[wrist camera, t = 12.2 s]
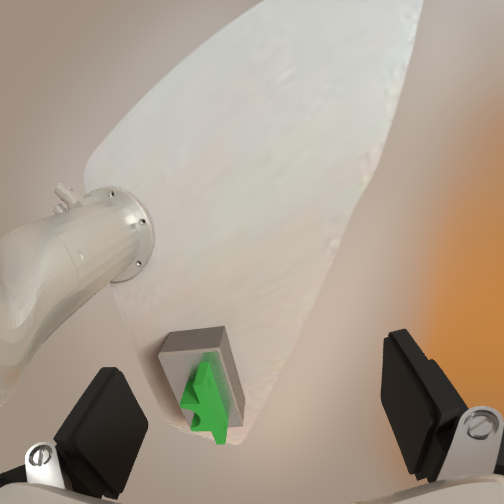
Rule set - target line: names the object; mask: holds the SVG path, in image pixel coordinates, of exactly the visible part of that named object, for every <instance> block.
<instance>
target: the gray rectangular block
mask: <svg viewBox="0 0 504 504" xmlns="http://www.w3.org/2000/svg"><path fill="white" fill-rule="evenodd" d="M158 358H159V360H160V363H161V365H162V367H163V370H164V372H165V375H166V377H167V379H168V382H169V384H170V386H171V388H172V391H173V393H174V395H175V397H176V400H177V402H178V404H179V406H180V401H181V398H182V395H183V392H184V389H185V386H186V383H187V382H188V381H195V377H196V374H197V371H198V368H199V364H200V363H202V362H209V365H210V368H211V371H212V374H213V377H214V380H215V383H216V386H217V389H218V392H219V395H220V398H221V401H222V404H223V407H224V410H225V413H226V416H227V419H228V427H240V426H243V417H244V406H245V397H244V394H243V390H242V387H241V384H240V380H239V377H238V373H237V370H236V366H235V362H234V359H233V355H232V352H231V348H230V344H229V341H228V337H227V333H226V330H225V326H221V327H213V328H204V329H196V330H186V331H177V332H170V334H169V335H168V337H167V339H166V341H165V343H164V345H163V347H162V349H161V351H160V353H159V355H158ZM180 408H181V407H180ZM181 410H182V412H183V415H184V417H185V419H186V421H187V423H188V425H189V427H191V423H192V419H193V416H194V412H193V411H191V410H188V409H182V408H181Z"/></svg>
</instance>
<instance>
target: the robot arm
mask: <svg viewBox="0 0 504 504" xmlns="http://www.w3.org/2000/svg"><path fill="white" fill-rule="evenodd" d="M54 192H55V194H56V195H57V196H58V197H59V198H60V199H61V200H62V201H64V202H65V203H66V204H67V205H68V211H66V209H65V208H64V207H63V206H62V205H61V204H58V205H57V206H56V207H55V209H54V212H55V213H56V215H53V216H50V217H47V218H44V219H41V220H38V221H35V222H33V223H30V224H27V225H24V226H21V227H19V228H16V229H14V230H13V231H11V232H9V233H8V234H7V235H5V236H4V237H3V238H2V239H1V240H0V407H1V406H2V405H3V404H4V403H5V402H6V400H7V399H8V398H9V397H10V395H11V394H12V393H13V391H14V390H15V388H16V387H17V385H18V383H19V382H20V380H21V378H22V376H23V375H24V373H25V371H26V369H27V367H28V365H29V364H30V362H31V360H32V358H33V357H34V355H35V354H36V352H37V351H38V350H39V348H40V347H41V346H42V344H43V343H44V342H45V341H46V340H47V338H48V337H49V336H50V335H51V334H52V333H53V332H54V331H55V330H56V329H57V328H58V327H59V326H60V325H61V324H62V323H63V322H64V321H65V320H67V319H68V318H69V317H70V316H71V315H72V314H74V313H75V312H76V311H77V310H78V309H79V308H80V307H81V306H83V304H85V303H86V302H87V301H88V300H89V299H90V298H92V297H93V296H94V295H95V294H96V293H97V292H98V291H100V290H101V289H102V288H103V287H104V286H105V285H106V284H108V283H109V282H110V281H114V282H118V281H125V280H128V279H130V278H132V277H134V276H135V275H137V274H138V273H139V272H140V271H141V270H142V269H143V268H144V267H145V265H146V264H147V263H148V261H149V259H150V257H151V253H152V250H153V244H154V233H153V227H152V223H151V220H150V217H149V215H148V213H147V211H146V209H145V208H144V206H143V205H142V204H141V203H140V202H139V200H138V199H137V198H136V197H134V196H133V195H131V194H130V193H129V192H127V191H124V190H122V189H119V188H114V187H105V188H100V189H97V190H94V191H91V192H90V193H88V194H87V195H86V196H84V197H82V196H81V195H76V194H75V193H74V192H73V191H72V189H71V188H70V187H69V186H68V185H67V184H66V183H65V182H61V183H60V184H58V185H57V187H56V188H55V191H54ZM113 192H114V195H113ZM143 219H144V220H145V223H144V222H143ZM139 261H140V262H141V263H140V262H139ZM381 402H382V405H383V407H384V410H385V412H386V415H387V417H388V420H389V422H390V424H391V427H392V430H393V432H394V435H395V437H396V440H397V443H398V445H399V447H400V450H401V453H402V456H403V458H404V461H405V464H406V466H407V469H408V472H409V474H415V476H416V479H417V481H418V480H421V479H424V478H427V480H428V482H429V483H428V484H424V485H421V486H418V487H414V488H411V489H407V490H404V491H400V492H396V493H393V494H389V495H385V496H382V497H378V498H373V499H369V500H365V501H360V502H356V503H351V504H504V421H503V418H502V416H501V414H500V413H499V412H498V411H497V410H495V409H493V408H491V407H487V406H477V407H473V408H471V409H468V407H467V406H466V404H465V403H464V401H463V400H462V398H461V397H460V395H459V394H458V392H457V391H456V389H455V388H454V387H453V385H452V384H451V382H450V381H449V379H448V378H447V376H446V375H445V374H444V372H443V371H442V369H441V368H440V367H439V365H438V364H437V363H436V362H435V361H434V360H433V359H430V360H428V359H427V357H426V356H425V355H424V353H423V352H422V350H421V349H420V347H419V346H418V345H417V343H416V342H415V341H414V339H413V338H412V337H411V335H410V334H409V332H408V331H407V330H406V329H401V330H398V331H394V332H390V333H389V335H388V337H387V338H384V345H383V368H382V385H381ZM147 429H148V421H147V418H146V417H145V415H144V413H143V411H142V409H141V408H140V406H139V404H138V402H137V400H136V398H135V397H134V395H133V393H132V391H131V389H130V387H129V385H128V383H127V381H126V379H125V377H124V375H123V373H122V372H121V371H119V370H118V369H117V368H116V367H103V368H101V369H100V370H99V372H98V373H97V375H96V376H95V378H94V379H93V380H92V382H91V383H90V385H89V386H88V388H87V389H86V390H85V392H84V393H83V395H82V396H81V398H80V399H79V401H78V402H77V404H76V405H75V406H74V408H73V409H72V411H71V412H70V414H69V415H68V417H67V418H66V420H65V421H64V423H63V425H62V426H61V428H60V429H59V430H58V432H57V434H56V435H55V437H54V438H53V439H54V440H55V442H56V443H57V445H56V446H54V445H53V444H52V443H49V442H40V443H37V444H35V445H34V446H32V447H31V448H30V449H29V451H28V452H27V454H26V456H25V464H24V465H22V466H19V467H17V468H15V469H12V470H9V471H7V472H4V473H1V474H0V504H120V503H115V502H111V501H106V500H102V499H101V498H102V495H104V496H105V497H107V498H111V499H116V500H117V499H118V496H119V494H120V493H122V492H123V490H124V488H125V485H126V483H127V480H128V478H129V475H130V472H131V469H132V467H133V465H134V462H135V460H136V457H137V454H138V452H139V449H140V447H141V444H142V442H143V439H144V437H145V434H146V432H147Z"/></svg>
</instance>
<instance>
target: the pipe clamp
mask: <svg viewBox="0 0 504 504" xmlns="http://www.w3.org/2000/svg"><path fill="white" fill-rule="evenodd" d="M180 407H181V408H182V409H188V410H191V411H193V412H194V416H193V419H192V423H191V427H190V428H191V430H192V431H211V432H212V434H213V436H214V439H215V441H216V443H217V444H225V442H226V435H227V428H228V419H227V416H226V413H225V410H224V407H223V404H222V401H221V398H220V395H219V392H218V389H217V386H216V383H215V380H214V377H213V374H212V371H211V368H210V365H209V362H202V363H200V364H199V368H198V371H197V374H196V377H195V381H188V382H187V383H186V386H185V389H184V392H183V395H182V398H181V401H180Z"/></svg>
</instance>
